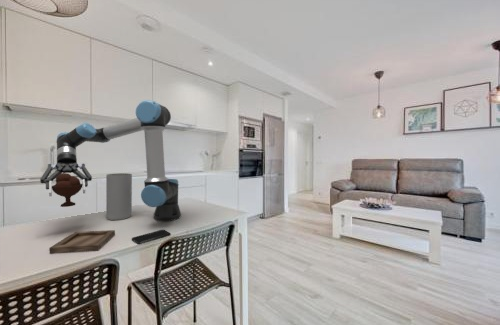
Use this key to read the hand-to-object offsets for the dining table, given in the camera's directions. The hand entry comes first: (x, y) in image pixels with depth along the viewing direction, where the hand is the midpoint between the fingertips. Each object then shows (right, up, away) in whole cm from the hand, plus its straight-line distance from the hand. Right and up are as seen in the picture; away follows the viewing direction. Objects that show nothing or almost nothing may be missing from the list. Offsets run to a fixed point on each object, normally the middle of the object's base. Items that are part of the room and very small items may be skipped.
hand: (68, 193), depth 96 cm
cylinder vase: (+6, -18, +27) cm, 34 cm away
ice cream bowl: (-2, -6, +2) cm, 7 cm away
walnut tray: (+14, -20, -8) cm, 25 cm away
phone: (+38, -21, +1) cm, 43 cm away
